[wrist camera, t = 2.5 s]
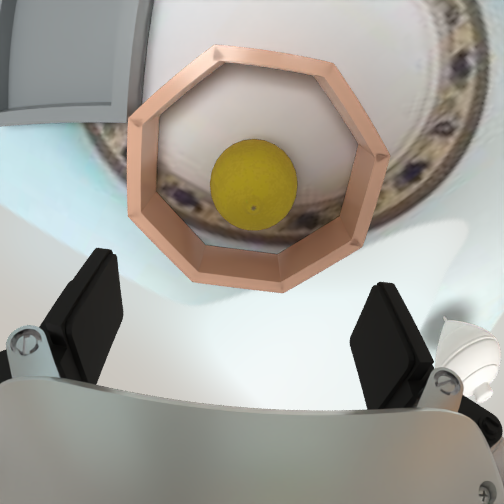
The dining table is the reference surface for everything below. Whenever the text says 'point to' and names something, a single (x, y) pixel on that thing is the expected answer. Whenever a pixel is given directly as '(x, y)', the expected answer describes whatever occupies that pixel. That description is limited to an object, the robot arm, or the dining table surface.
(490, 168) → the dining table surface
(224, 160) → the lemon
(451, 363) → the spinning top
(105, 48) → the grey tray
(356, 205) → the terracotta ring
